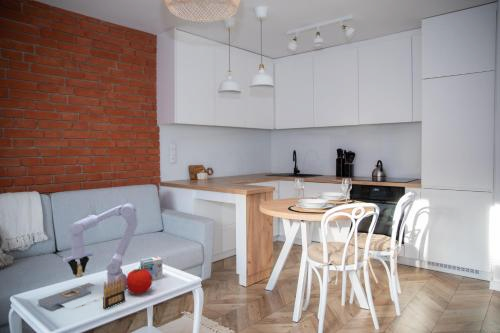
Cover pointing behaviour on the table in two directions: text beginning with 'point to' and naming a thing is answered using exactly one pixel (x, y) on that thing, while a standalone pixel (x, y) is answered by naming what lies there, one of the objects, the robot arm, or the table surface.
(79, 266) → the brass peg
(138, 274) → the tomato
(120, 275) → the robot arm
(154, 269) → the light bulb box
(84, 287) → the gray square block
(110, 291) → the ammunition clip
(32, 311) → the table surface
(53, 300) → the plate
